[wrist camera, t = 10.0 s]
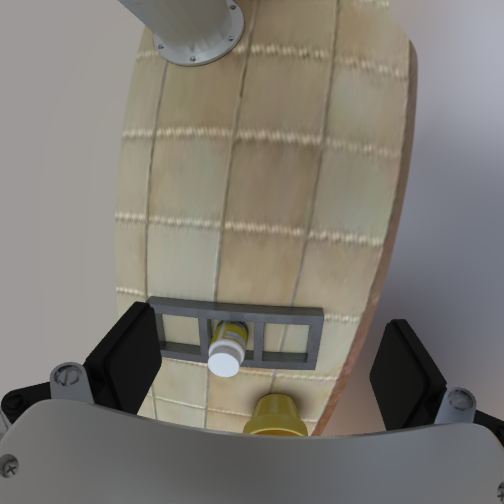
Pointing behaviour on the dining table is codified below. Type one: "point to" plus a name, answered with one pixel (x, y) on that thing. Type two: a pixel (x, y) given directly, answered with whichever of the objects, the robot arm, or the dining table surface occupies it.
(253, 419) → the plant pot
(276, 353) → the grey long slotted tray
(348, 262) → the dining table surface
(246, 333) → the supplement bottle
